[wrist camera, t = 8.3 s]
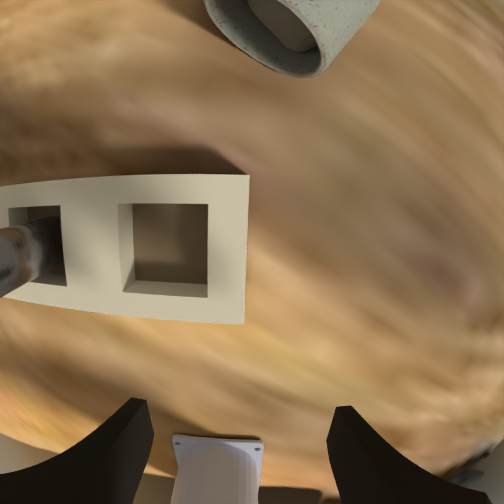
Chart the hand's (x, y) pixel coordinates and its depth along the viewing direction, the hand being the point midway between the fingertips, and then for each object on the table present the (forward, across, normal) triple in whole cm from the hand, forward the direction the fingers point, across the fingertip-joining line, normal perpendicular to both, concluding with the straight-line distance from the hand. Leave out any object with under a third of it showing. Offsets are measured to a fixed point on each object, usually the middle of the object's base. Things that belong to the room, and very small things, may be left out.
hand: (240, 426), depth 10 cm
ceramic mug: (+10, -1, -20) cm, 23 cm away
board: (+10, +9, -5) cm, 14 cm away
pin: (+9, +14, -5) cm, 17 cm away
